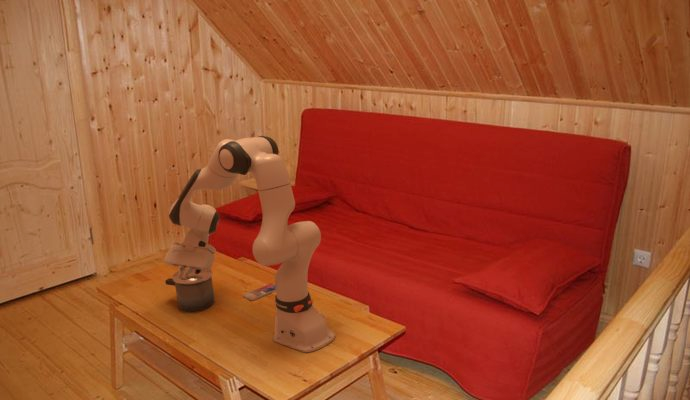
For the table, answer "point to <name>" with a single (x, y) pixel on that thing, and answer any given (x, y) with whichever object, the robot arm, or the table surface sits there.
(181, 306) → the cooker pot
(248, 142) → the robot arm
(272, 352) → the table surface
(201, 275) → the lid
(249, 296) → the smartphone
